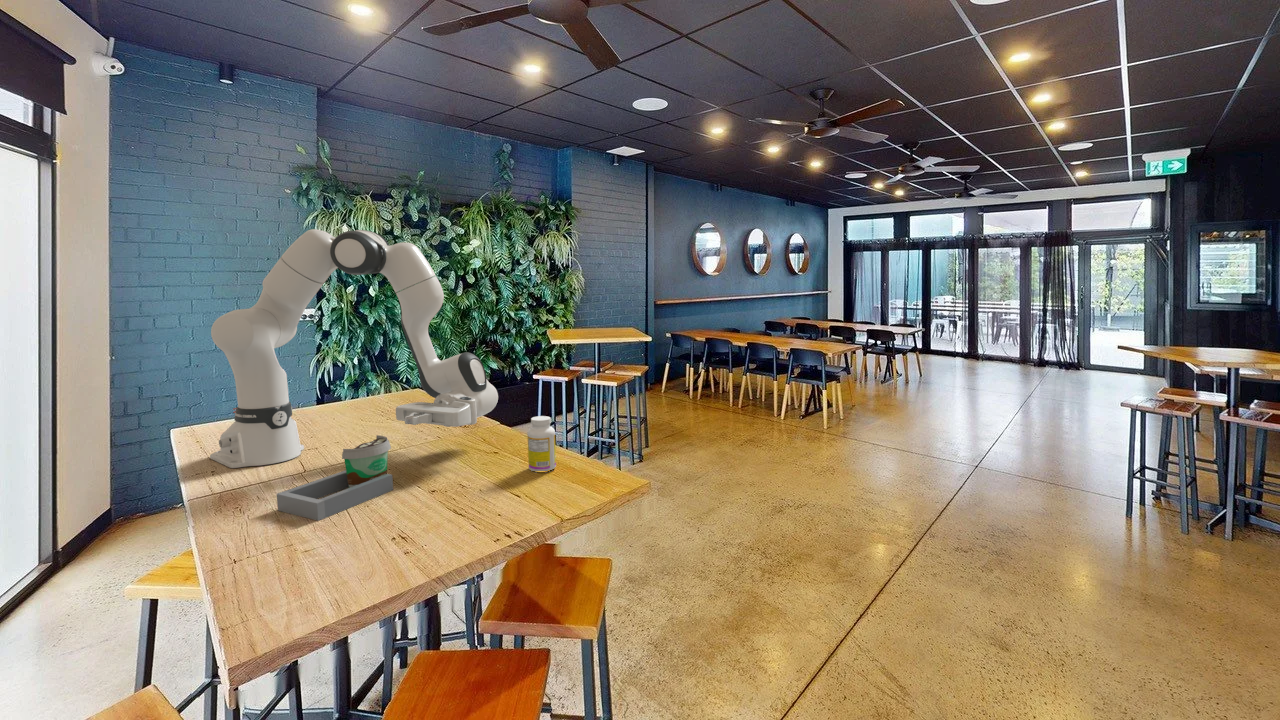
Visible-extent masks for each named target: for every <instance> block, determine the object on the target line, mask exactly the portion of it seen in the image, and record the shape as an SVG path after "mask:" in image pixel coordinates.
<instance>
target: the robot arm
mask: <svg viewBox="0 0 1280 720" xmlns="http://www.w3.org/2000/svg"><path fill="white" fill-rule="evenodd" d="M337 269H339V270H340V271H342V272H343V273H346V274H349V275H353V276H363V275H371V274H379V273H380V274H382V275H383V276H384V277H385V278H386V280H388V282H389V283H390V285H391V287H392V289H393V290H394V293H395V294H396V296H397V299H398V301H399V304H400V309H401V315H400V316H401V317H400V323H401V326H402V327H401V329H402V331H403V334H404V336H405V339H406V342H407V344H408V346H409V347H408V348H409V349H410V352H411V355H412V357H413V360H414V362H415V365H416V368H417V372H418V376H419V381H420V384H421V387H422V390H424V392H425V393H426V394H427V395H429V396H430V397H432V398H435V399H434V401H433V402H427V401H426V402H424V401H417V402H416V401H414V402H409V403H405V404H399V405H398V406H396V407H395V418H396V420H397V421H401V422H404V424H405V425H412V426H416V425H421V424H428V425H438V426H444V427H446V428H447V427H448V428H450V427H455V428H456V427H463V426H471V425H475V424H477V420H478V418H479V417H480V418H481V417H483V416H485V415H487V414H488V413H490V412H492V411H493V410H494V409H495V408H496V406H497V403H498V400H499V393H498V390H497V388H496V387H495V386H494V385H493V384H491V383H490V382H489V380H488V379H487V372H486V370H485V369H486V368H485V367H484V364H483V362H482V360H480V358H479V357H478V356H476V355H475V354H474V353H471V352H468V351H467V352H466V351H465V352H462V353H459V354H455V355H453V356H450V357H448V358H445V359H442V360H441V359H439V357H438V355H437V353H436V351H435V348H434V346H433V342H432V340H431V337H430V335H429V325H430V323H431V321H432V319H433V318H435V316H436V315H437V313H439V311H440V310H441V308H442V306H443V304H444V303H443V302H444V299H445V293H444V290H443V287H442V284H441V282H440V281H439V279H438V277H437V276H436V274H435V271H434V269H433V268H432V266H431V264H430V263H429V261H428V260H427V258H426V257H425V255H424V254H423V252H422V251H421V250H420V249H419V247H418V246H416V245H415V244H414V243H412V242H406V241H404V242H398V243H395V244H391V245H390V244H389V243H388V240H386V239H385V238H384V236H382V234H379V233H377V232H376V231H375V232H374V231H372V230H371V231H370V230H365V229H356V230H348V231H347V230H346V231H344V232H342V233H340V234H338V235H337V236H336V237H335V236H333V235H332V234H331V233H329V232H327V231H325V230H321V229H317V228H316V229H315V228H312V229H308V230H306V231H305V232H304V233H303V234H301V235H299V237H298V238H296V240H294V241H293V243H291V244H290V246H289V247H288V248H287V249H286V250H285V251H284V253H283V254H282V255H281V256H280V258H279V259H278V260H277V261H276V263H275V264H274V266H273V267H272V268H271V269H270V270H269V272H268V274H266V276H265V277H264V279H263V281H262V291H261V293H260V295H259V298H258V299H257V301H256V303H255V304H254V305H253V306H251V307H250V308H240V309H238V308H237V309H234V310H231V311H229V312H226V313H224V314H223V315H220V316H219V317H217V318H216V319H215V320H214V322H213V324H212V326H211V329H210V331H211V332H210V335H211V339H212V342H213V343H214V345H216V347H217V348H219V349H220V351H222V352H223V353H224V355H225V357H226V359H227V361H228V364H229V365H230V368H231V370H232V373H233V377H234V381H235V382H234V383H235V388H236V389H235V390H236V399H237V407H234V408H232V410H234V411H233V414H234V418H233V419H234V422H233V423H232V424H231V425H230V426H229V427H228V428H227V429H226V430H225V431H224V432H222V433H221V434H220V438H219V439H218V445H219V448H220V450H218V451H215V452H213V453H211V454H209V459H211V460H213V461H215V462H217V463H218V464H221V465H223V466H226V467H228V468H229V469H237V468H245V467H255V466H267V465H272V464H277V463H281V462H286V461H289V460H292V459H295V458H297V457H299V456H301V454H302V451H303V450H304V449H305V445H304V444H301V442H300V435H299V431H298V426H297V421H296V420H295V419H294V418H292V416H293V406H292V402H291V401H290V398H289V386H288V385H289V384H288V374H287V372H286V370H284V368H283V367H282V366H281V365H280V363H279V360H278V358H277V355H276V351H275V349H277V348H281V347H282V346H284V345H286V344H288V343H289V342H290V341H292V339H293V338H295V336H296V334H297V332H298V325H299V322H300V321H301V318H302V316H303V314H304V312H305V310H306V309H307V306H308V305H309V304H310V303H311V301H312V300H313V299H314V297H315V296H316V294H317V293H318V292H319V291H320V289H321V288H322V286H323V285H325V282H326V281H327V280H328V279H329V277H330V276H331V275H332V274H333V273H334V271H336V270H337Z"/></svg>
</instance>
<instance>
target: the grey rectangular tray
mask: <svg viewBox="0 0 1280 720" xmlns="http://www.w3.org/2000/svg"><path fill="white" fill-rule="evenodd" d="M393 481H394V479H393V474H391V473H387V474H385V475H383V476H380V477H377V478H375V479H372V480H369V481H367V482H364V483H361V484H359V485H356V486H353V487H351V488H349V486H348V479H347V473H346V469H345V470H343V471H339V472H337V473H334V474H330V475H328V476H325V477H322V478H318V479H315V480H313V481H310V482H307V483H304V484H301V485H298V486H296V487H293V488H290V489H286V490H283V491H281V492H278V493H276V501H277V503H276V505H277V511H279V512H283V513H287V514H291V515H294V516H298V517H303V518H306V519H310V520H313V521H314V520H315V521H317V522H319V521H322V520H323V519H327V518H328V517H331V516H333V515H336V514H338V513H341V512H342V511H343V512H344V511H345V510H348V509H350V508H353V507H355V506H357V505H360V504H362V503H366V502H367V501H369V500H372V499H375V498H377V497H379V496H382V495H385V494H387V493H389V492H392V491H394V482H393Z"/></svg>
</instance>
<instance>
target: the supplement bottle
mask: <svg viewBox="0 0 1280 720" xmlns="http://www.w3.org/2000/svg"><path fill="white" fill-rule="evenodd" d="M530 423H531V428H529V429H528V430H527V452H528V454H527V456H528V458H527V459H528V470H531V471H530V472H532V471H548V470H552V469H554V468H555V467H556V468H557V459H556V458H557V455H556V454H557V451H556V450H557V449H556V447H557V446H556V430H555V428H553V427H552V426H551V423H552V420H551V417H550V416H546V415H537V416H533V417H531V418H530ZM556 468H555V469H556ZM555 469H554V470H555ZM552 471H553V470H552Z"/></svg>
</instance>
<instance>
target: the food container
mask: <svg viewBox="0 0 1280 720" xmlns="http://www.w3.org/2000/svg"><path fill="white" fill-rule="evenodd" d="M375 436H376V439H374V440H372V441H369V442H364V443H363V442H362V443H360V444H359V445H356V447H355V448H354V447H353V448H343V449H342V453H341V454H342V455H341V459H342V460H344V466H345V470H346V473H347V479H348V486H349V487H348V488H351V487H353V486H356V485H359V484H361V483H364V482H367V481H369V480H372V479H375V478H377V477H380V476H383V475H385V474H388V461H389V460H388V459H389V458H388V455H389V452H388V451H390V449H392V447H391V444H390V443H391V442H390V440H389V439H388V437H386V436H384V435H378V434H376V435H375Z"/></svg>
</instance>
